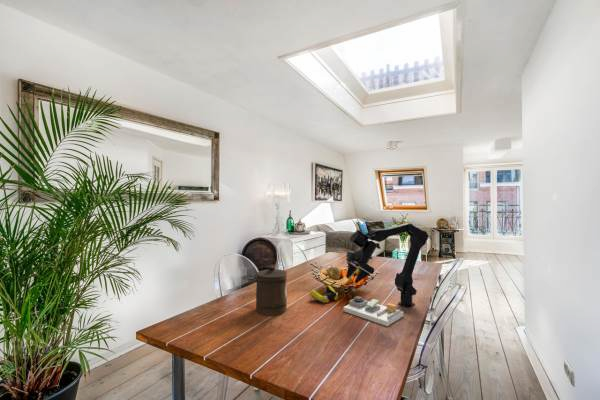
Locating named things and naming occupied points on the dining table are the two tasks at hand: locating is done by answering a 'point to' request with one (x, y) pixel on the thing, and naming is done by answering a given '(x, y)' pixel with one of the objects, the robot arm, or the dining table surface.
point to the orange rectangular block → (391, 308)
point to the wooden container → (271, 291)
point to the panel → (373, 312)
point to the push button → (358, 299)
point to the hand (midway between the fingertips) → (350, 280)
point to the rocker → (372, 303)
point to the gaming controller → (325, 295)
